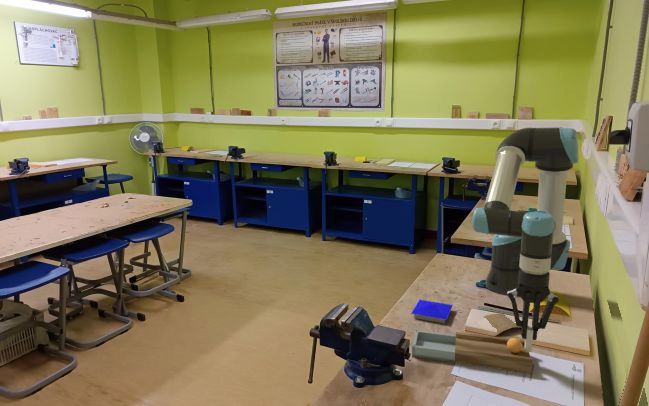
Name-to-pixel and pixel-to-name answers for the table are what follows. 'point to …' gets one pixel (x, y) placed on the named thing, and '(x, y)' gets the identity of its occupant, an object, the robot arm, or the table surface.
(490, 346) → the chute
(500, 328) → the brown curved sheet
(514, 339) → the ball
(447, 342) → the tray
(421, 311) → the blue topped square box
